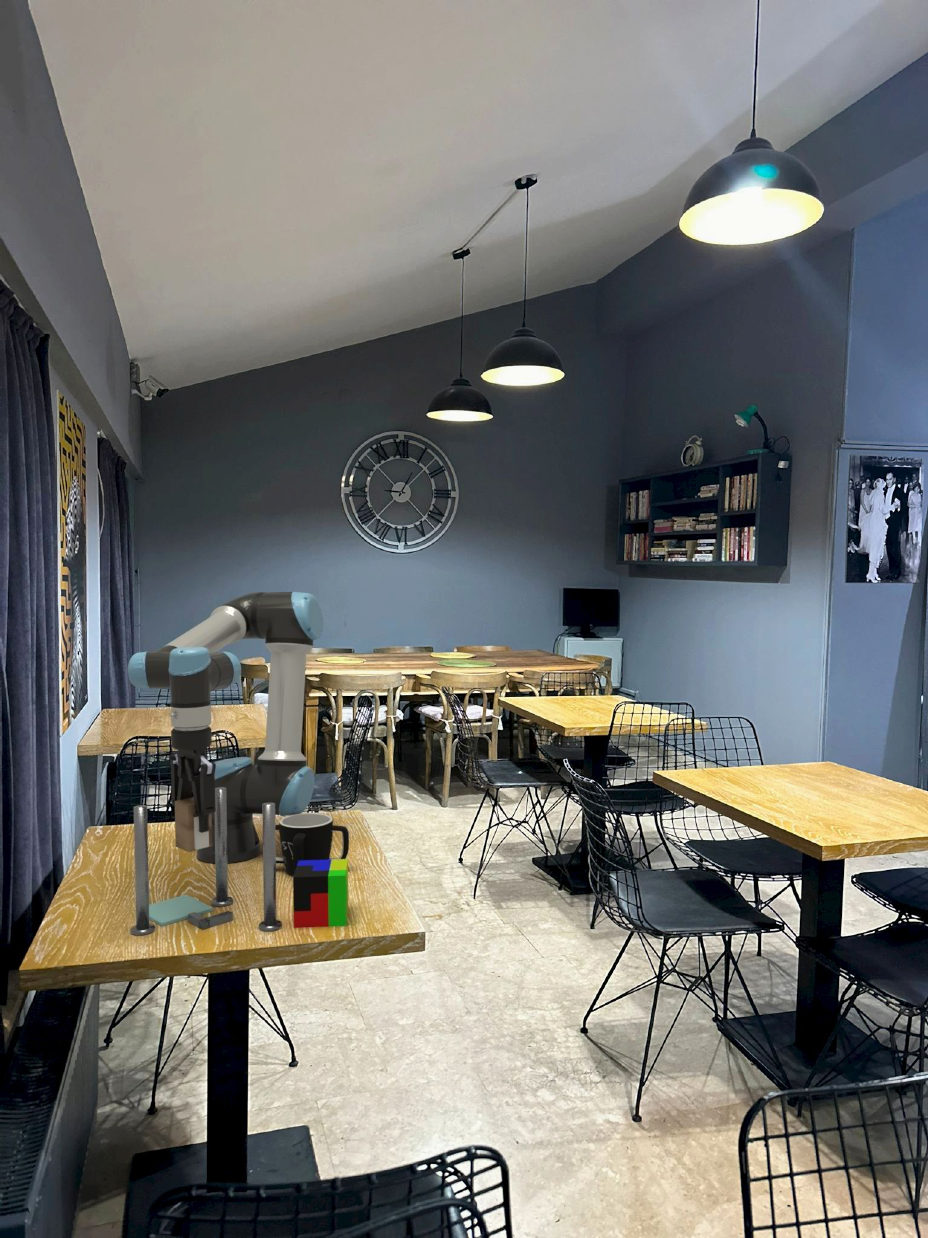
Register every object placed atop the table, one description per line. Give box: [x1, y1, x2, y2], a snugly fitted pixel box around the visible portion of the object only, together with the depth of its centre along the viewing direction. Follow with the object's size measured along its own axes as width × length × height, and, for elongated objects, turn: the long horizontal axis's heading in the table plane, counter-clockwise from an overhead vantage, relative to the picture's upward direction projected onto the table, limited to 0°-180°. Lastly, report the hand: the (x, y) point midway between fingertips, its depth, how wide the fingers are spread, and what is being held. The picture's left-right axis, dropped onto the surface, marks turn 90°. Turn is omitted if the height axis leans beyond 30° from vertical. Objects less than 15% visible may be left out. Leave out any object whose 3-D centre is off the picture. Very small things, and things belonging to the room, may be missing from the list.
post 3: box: [258, 803, 283, 933], centre depth 167 cm, size 4×4×24 cm
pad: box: [149, 894, 214, 927], centre depth 176 cm, size 11×11×1 cm
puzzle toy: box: [292, 858, 350, 929], centre depth 172 cm, size 10×10×10 cm
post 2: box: [210, 787, 234, 908], centre depth 180 cm, size 4×4×24 cm
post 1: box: [130, 804, 156, 937], centre depth 165 cm, size 4×4×24 cm
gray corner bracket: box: [187, 910, 234, 930], centre depth 171 cm, size 6×6×2 cm
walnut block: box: [174, 796, 212, 853], centre depth 170 cm, size 5×5×9 cm
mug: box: [275, 812, 350, 876], centre depth 200 cm, size 16×16×12 cm
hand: (194, 844), depth 170 cm, fingers closed on walnut block, 5 cm apart
